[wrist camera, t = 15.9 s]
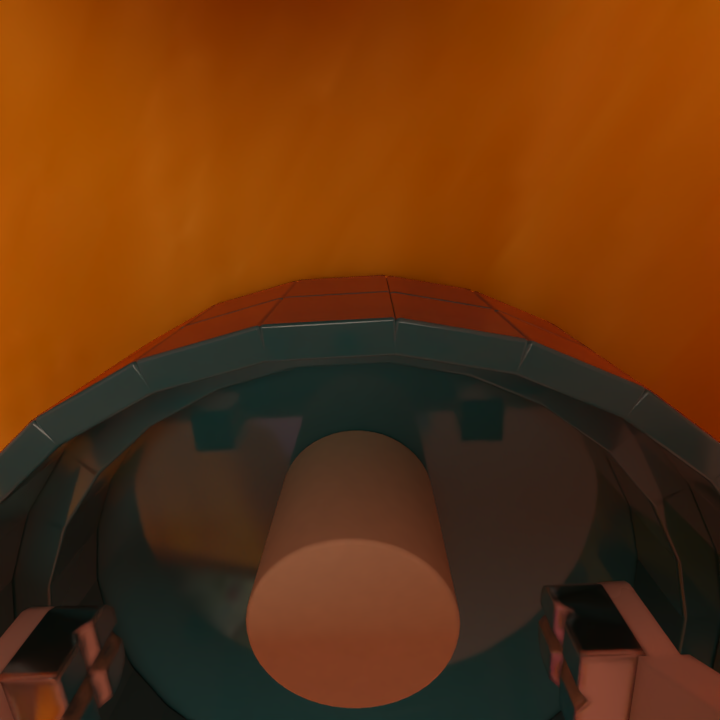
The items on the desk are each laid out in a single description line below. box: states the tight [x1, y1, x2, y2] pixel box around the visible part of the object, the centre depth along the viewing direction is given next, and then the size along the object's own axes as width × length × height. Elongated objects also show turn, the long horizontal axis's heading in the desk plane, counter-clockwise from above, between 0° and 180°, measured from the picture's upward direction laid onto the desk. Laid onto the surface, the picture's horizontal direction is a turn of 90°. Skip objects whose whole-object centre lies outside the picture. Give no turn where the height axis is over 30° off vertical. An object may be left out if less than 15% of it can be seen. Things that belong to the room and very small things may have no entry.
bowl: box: [0, 275, 720, 720], centre depth 13 cm, size 18×18×5 cm
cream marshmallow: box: [246, 431, 460, 708], centre depth 11 cm, size 4×4×4 cm
